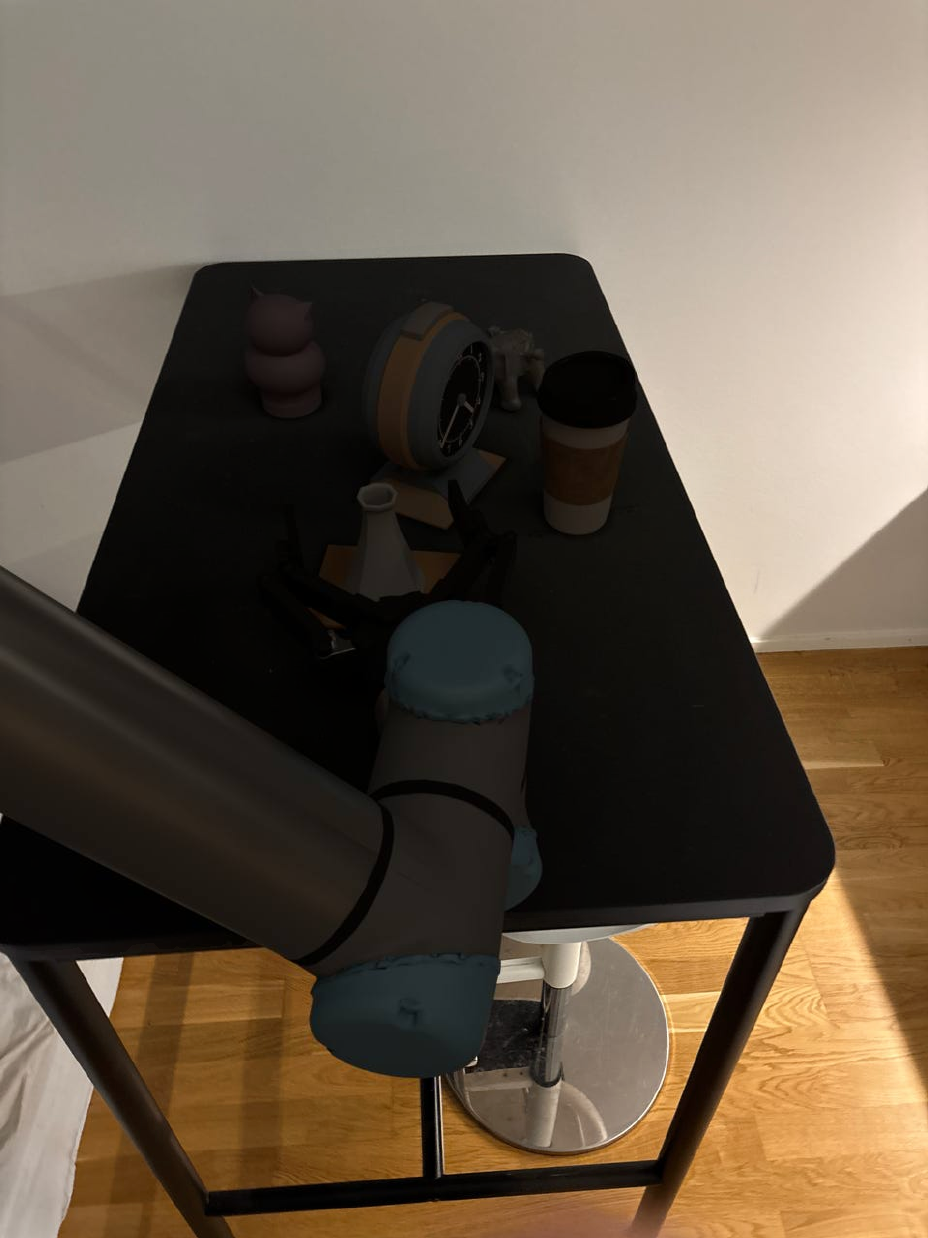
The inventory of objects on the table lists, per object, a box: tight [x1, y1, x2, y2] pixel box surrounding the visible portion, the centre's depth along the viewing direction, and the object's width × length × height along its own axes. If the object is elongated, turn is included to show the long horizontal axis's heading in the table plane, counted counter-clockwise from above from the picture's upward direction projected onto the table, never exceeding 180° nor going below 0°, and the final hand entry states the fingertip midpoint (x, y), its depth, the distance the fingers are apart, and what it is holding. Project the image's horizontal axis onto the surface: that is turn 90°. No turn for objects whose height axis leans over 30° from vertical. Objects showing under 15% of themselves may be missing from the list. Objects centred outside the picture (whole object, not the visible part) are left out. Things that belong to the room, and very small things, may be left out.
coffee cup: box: [536, 350, 638, 536], centre depth 86 cm, size 8×8×15 cm
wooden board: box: [307, 544, 462, 630], centre depth 84 cm, size 12×10×1 cm
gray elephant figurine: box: [486, 324, 546, 412], centre depth 102 cm, size 9×12×8 cm
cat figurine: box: [243, 285, 326, 419], centre depth 101 cm, size 8×8×12 cm
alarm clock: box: [355, 301, 507, 531], centre depth 89 cm, size 14×10×18 cm
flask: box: [343, 483, 427, 602], centre depth 81 cm, size 7×7×10 cm
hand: (372, 504), depth 81 cm, fingers open, 13 cm apart
